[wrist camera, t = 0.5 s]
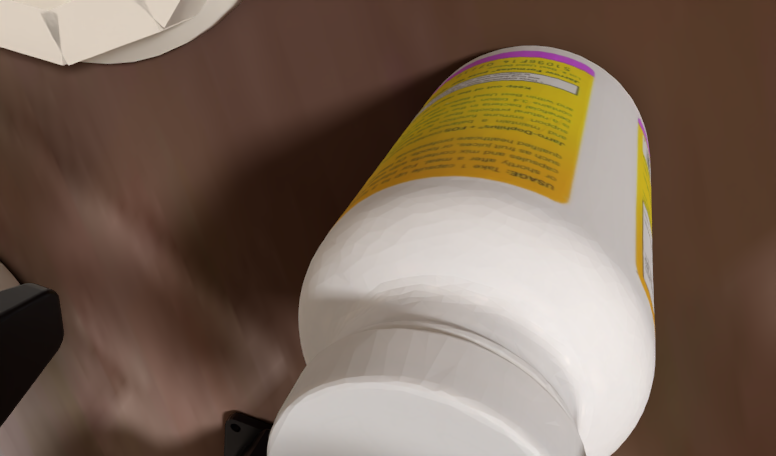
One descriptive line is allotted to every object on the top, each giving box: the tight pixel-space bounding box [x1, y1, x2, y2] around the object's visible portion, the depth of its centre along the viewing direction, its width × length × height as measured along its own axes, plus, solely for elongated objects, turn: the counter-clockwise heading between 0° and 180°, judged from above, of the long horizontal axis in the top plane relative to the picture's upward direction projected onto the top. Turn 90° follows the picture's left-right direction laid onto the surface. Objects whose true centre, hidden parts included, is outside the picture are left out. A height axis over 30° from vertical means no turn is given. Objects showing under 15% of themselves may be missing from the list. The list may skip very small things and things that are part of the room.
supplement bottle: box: [267, 46, 655, 456], centre depth 15 cm, size 7×7×13 cm
